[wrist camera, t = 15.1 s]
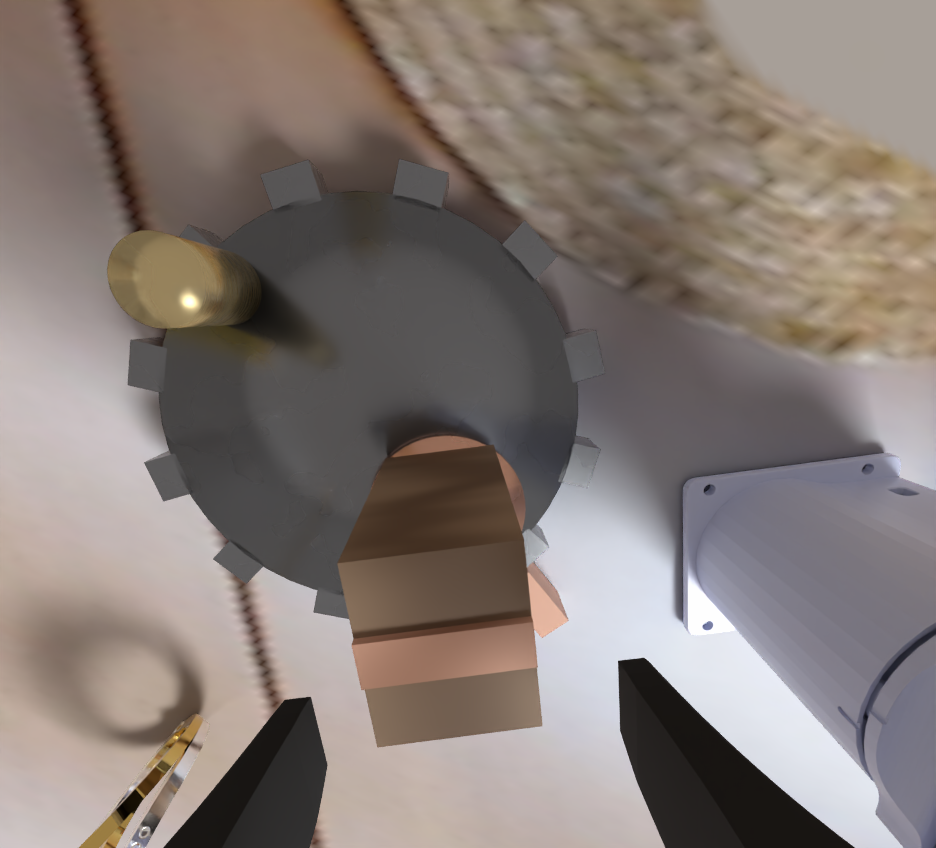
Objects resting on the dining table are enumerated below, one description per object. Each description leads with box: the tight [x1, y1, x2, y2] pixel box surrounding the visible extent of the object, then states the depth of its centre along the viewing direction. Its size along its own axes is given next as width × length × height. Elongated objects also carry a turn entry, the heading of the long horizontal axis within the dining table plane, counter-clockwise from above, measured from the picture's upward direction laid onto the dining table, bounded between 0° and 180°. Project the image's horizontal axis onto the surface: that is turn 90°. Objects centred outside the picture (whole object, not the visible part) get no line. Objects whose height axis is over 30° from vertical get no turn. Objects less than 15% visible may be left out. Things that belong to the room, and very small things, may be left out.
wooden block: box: [337, 445, 542, 747], centre depth 13 cm, size 4×5×7 cm
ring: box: [79, 713, 210, 848], centre depth 18 cm, size 7×3×8 cm, turn 135°
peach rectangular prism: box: [527, 562, 569, 638], centre depth 20 cm, size 3×1×2 cm, turn 37°
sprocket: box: [107, 159, 605, 619], centre depth 15 cm, size 17×17×5 cm
